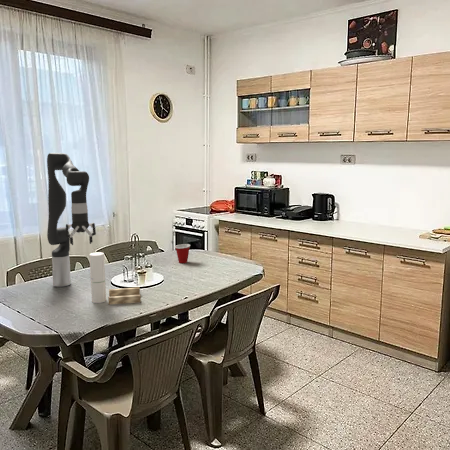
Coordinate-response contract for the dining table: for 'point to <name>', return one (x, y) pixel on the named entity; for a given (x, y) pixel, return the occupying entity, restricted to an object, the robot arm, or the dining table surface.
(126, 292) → the rest
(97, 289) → the cylindrical container
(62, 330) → the dining table surface
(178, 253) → the plastic cup
